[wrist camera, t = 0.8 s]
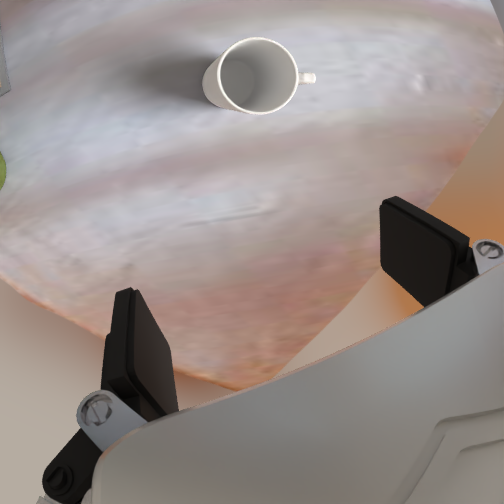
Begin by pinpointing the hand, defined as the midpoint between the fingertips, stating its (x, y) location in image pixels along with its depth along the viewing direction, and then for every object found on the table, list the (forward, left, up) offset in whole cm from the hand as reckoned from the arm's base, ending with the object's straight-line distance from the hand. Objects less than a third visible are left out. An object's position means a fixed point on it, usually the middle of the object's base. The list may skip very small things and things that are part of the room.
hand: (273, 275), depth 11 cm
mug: (-7, +7, -28) cm, 30 cm away
